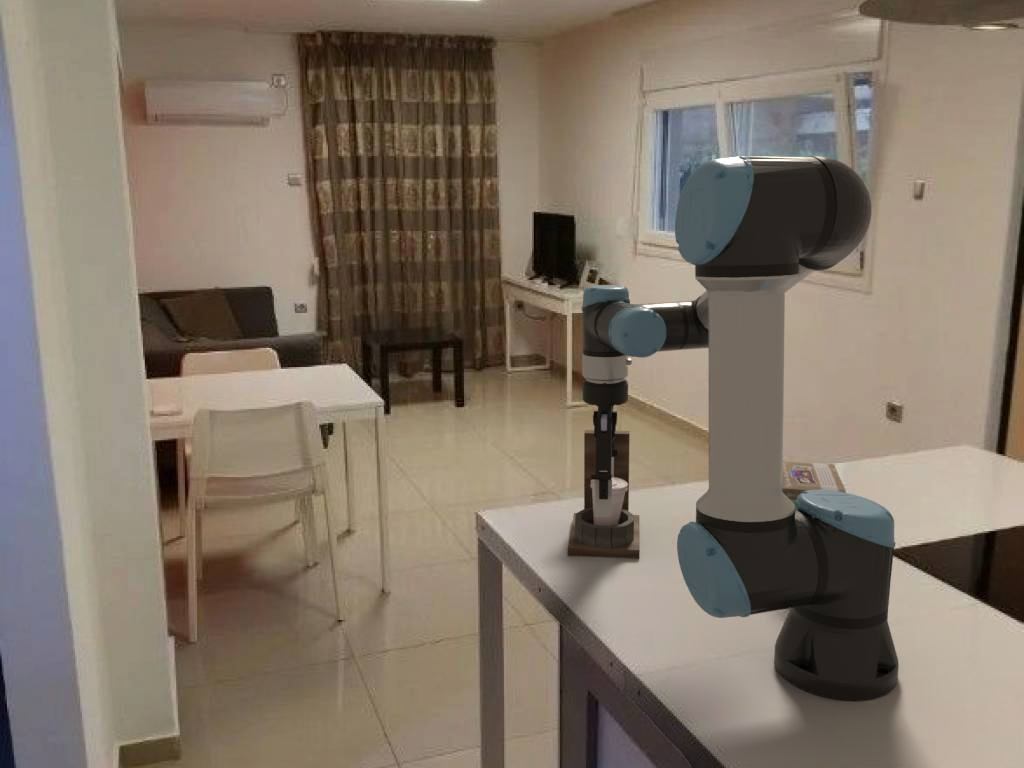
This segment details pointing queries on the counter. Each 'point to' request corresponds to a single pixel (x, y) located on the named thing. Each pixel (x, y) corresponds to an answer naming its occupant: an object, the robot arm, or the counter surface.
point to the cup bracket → (583, 531)
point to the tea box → (809, 478)
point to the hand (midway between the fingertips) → (604, 504)
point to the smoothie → (617, 501)
